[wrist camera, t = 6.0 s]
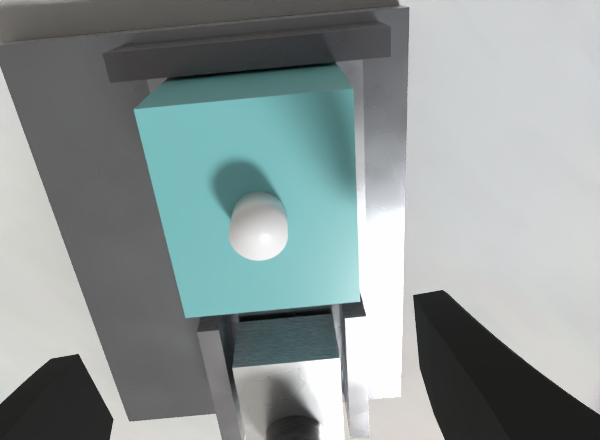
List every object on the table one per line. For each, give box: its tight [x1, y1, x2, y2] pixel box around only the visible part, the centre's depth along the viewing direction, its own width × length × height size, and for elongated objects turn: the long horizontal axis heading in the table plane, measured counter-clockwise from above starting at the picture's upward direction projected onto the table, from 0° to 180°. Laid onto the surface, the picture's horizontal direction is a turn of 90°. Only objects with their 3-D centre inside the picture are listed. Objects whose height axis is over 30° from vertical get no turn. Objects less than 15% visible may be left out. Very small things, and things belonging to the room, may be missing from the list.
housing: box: [134, 62, 360, 318], centre depth 14 cm, size 5×6×6 cm
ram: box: [232, 314, 344, 440], centre depth 18 cm, size 4×5×6 cm
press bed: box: [0, 5, 409, 440], centre depth 18 cm, size 13×17×4 cm
